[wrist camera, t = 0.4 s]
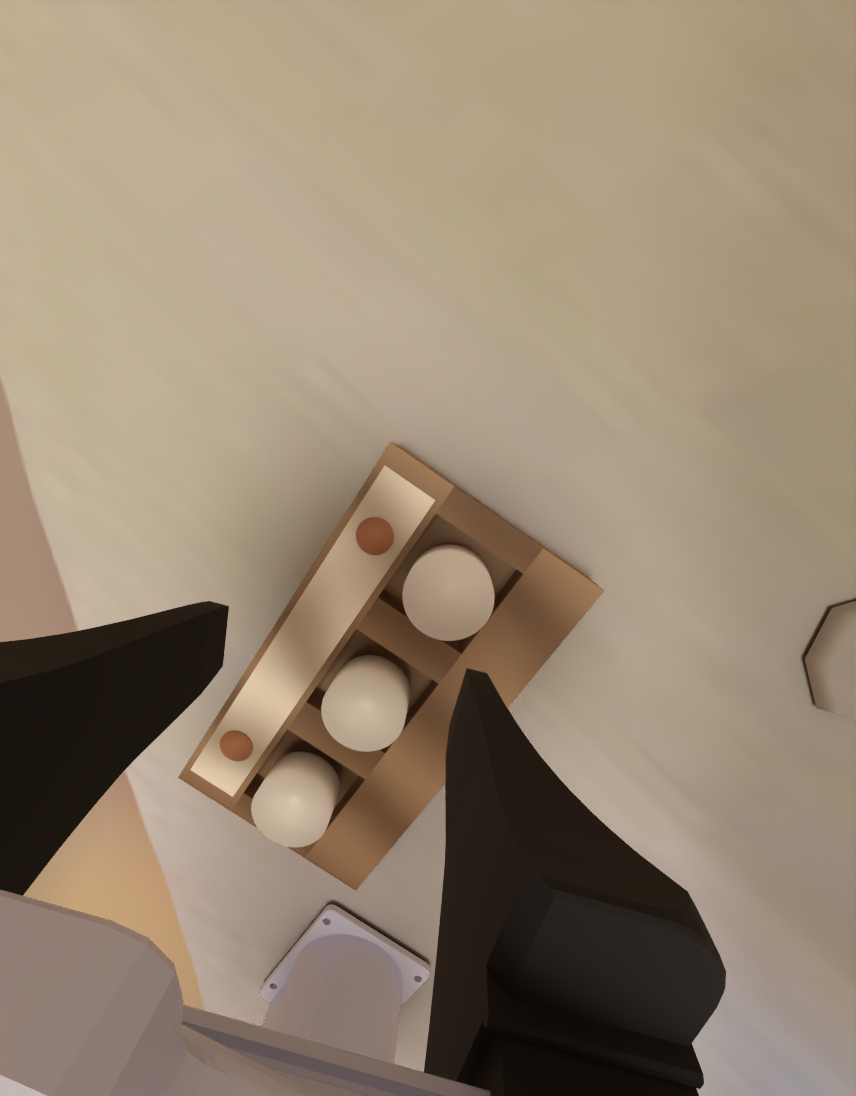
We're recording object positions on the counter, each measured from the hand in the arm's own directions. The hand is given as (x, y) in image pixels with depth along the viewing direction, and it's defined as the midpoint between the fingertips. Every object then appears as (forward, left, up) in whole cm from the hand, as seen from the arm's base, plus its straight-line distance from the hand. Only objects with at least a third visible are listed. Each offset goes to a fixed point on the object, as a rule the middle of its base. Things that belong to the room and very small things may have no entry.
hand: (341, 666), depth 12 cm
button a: (+2, -2, -8) cm, 9 cm away
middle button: (-5, -2, -8) cm, 10 cm away
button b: (-12, -2, -8) cm, 15 cm away
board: (-5, -2, -10) cm, 11 cm away
